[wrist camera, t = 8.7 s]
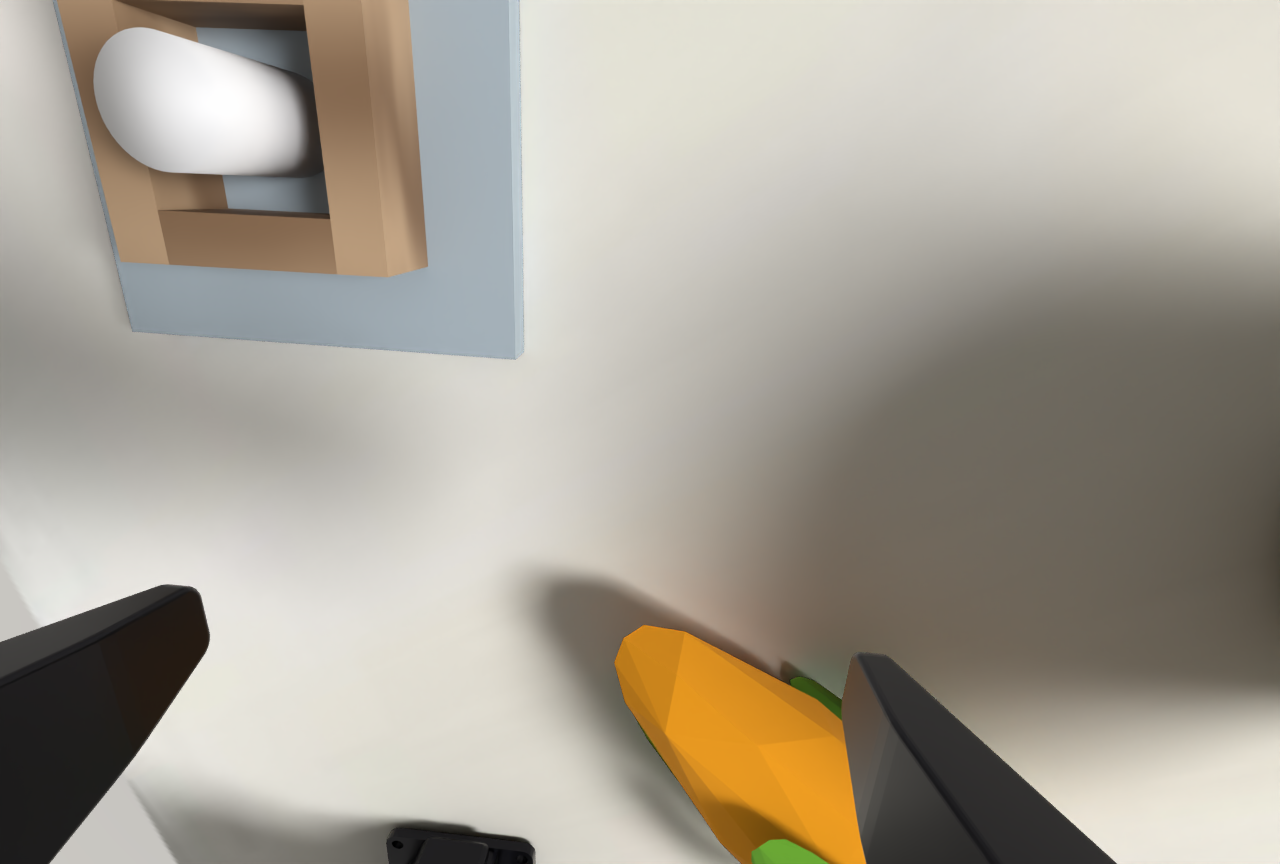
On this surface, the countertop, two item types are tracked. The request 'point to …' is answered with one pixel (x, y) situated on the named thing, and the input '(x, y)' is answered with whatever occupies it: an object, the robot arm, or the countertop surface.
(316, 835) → the countertop surface
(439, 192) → the base plate with peg
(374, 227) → the square wooden frame
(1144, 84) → the countertop surface
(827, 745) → the corn
